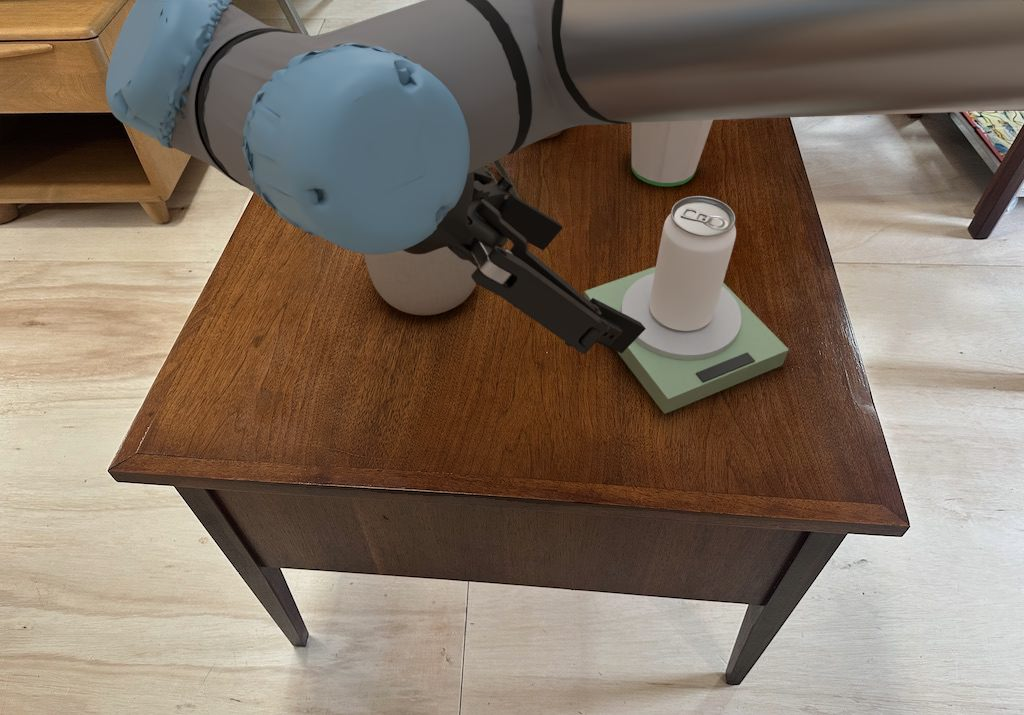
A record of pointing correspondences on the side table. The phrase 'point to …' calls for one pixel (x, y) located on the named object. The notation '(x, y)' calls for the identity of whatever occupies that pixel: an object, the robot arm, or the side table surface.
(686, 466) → the side table surface
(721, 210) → the can
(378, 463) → the side table surface
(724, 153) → the side table surface
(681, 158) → the cup
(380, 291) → the planter
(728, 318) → the scale
